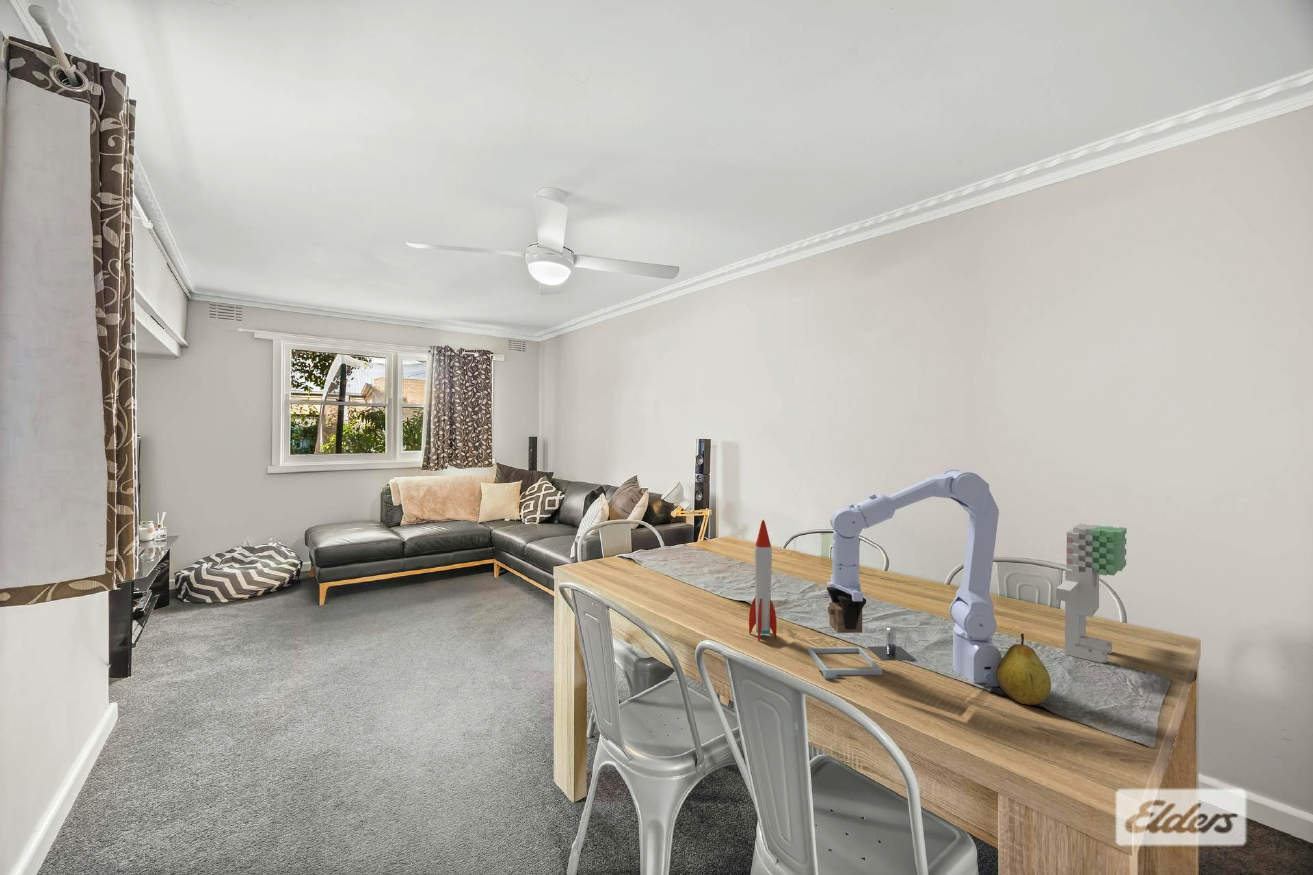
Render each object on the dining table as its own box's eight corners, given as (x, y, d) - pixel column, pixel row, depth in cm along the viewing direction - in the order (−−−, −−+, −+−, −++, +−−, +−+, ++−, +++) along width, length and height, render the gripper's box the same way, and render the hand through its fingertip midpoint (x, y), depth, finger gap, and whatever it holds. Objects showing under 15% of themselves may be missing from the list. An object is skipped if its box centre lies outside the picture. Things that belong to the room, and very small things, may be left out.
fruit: (1032, 713, 102) (1032, 649, 102) (986, 692, 110) (986, 632, 110) (1062, 705, 105) (1062, 642, 105) (1015, 684, 113) (1015, 627, 113)
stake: (916, 664, 124) (916, 634, 124) (881, 664, 123) (881, 634, 123) (900, 650, 132) (900, 622, 132) (867, 650, 131) (867, 622, 131)
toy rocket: (758, 641, 137) (758, 522, 137) (748, 633, 143) (748, 518, 142) (778, 638, 139) (778, 521, 139) (767, 631, 144) (767, 517, 144)
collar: (862, 632, 120) (862, 609, 120) (833, 632, 120) (833, 609, 120) (852, 624, 125) (853, 602, 125) (825, 624, 125) (825, 602, 125)
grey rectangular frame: (882, 678, 116) (882, 669, 116) (825, 679, 116) (825, 669, 116) (859, 655, 128) (859, 647, 128) (808, 656, 128) (808, 647, 128)
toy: (1114, 681, 115) (1115, 538, 115) (1055, 666, 122) (1056, 532, 122) (1130, 643, 136) (1131, 522, 136) (1079, 632, 143) (1080, 518, 143)
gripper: (817, 555, 129) (817, 613, 130) (839, 571, 115) (839, 635, 115) (847, 555, 130) (847, 613, 130) (872, 571, 115) (872, 635, 115)
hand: (845, 623), depth 122 cm, fingers closed on collar, 5 cm apart
